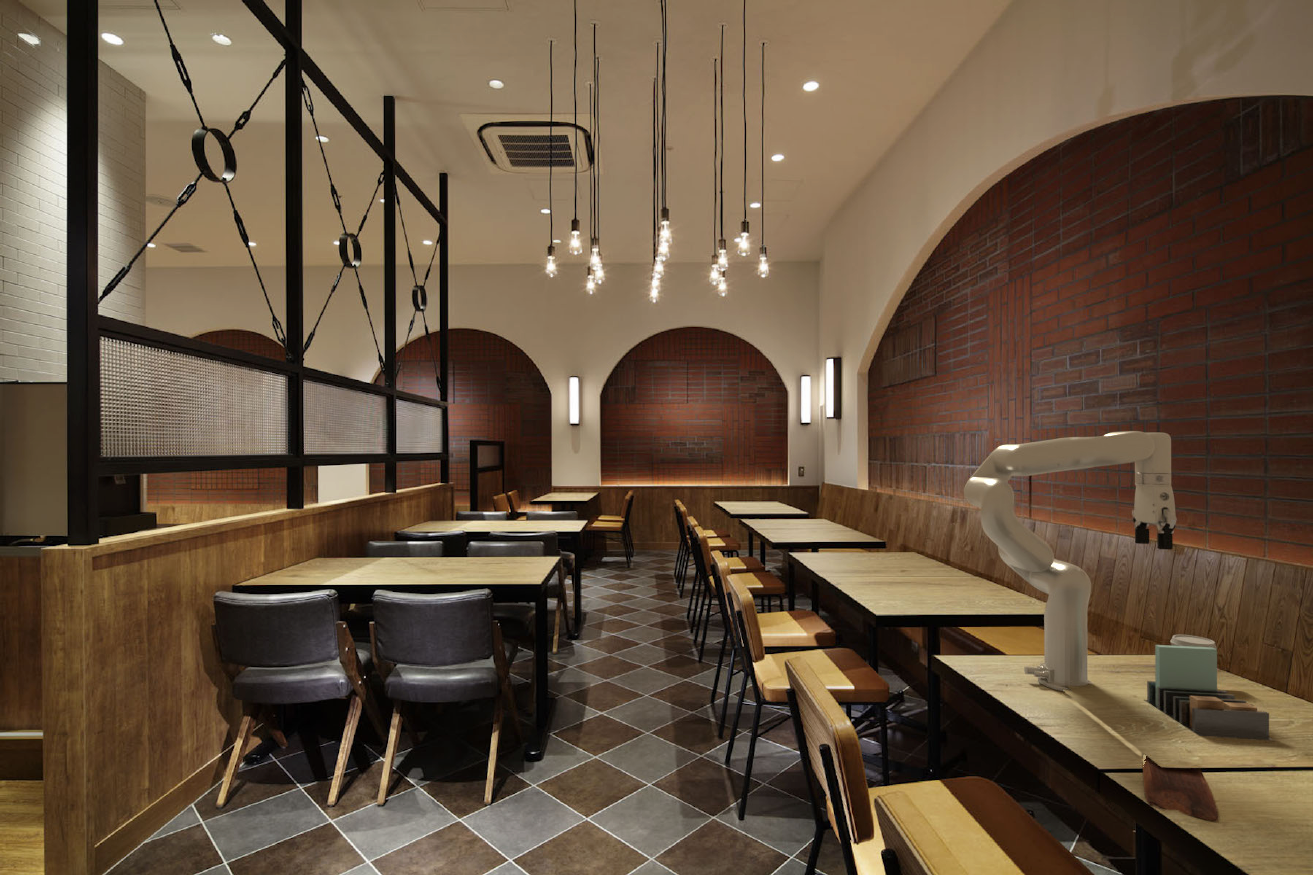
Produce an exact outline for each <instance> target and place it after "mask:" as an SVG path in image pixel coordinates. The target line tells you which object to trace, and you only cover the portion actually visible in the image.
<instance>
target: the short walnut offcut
mask: <svg viewBox="0 0 1313 875" xmlns="http://www.w3.org/2000/svg"><path fill="white" fill-rule="evenodd" d="M1250 704H1251V703H1247V702H1246V703H1231V702H1223V709H1226V710H1244V711H1258V707H1256V706H1255V705H1253V704H1252V705H1253V706H1252V705H1250Z"/></svg>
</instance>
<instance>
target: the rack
mask: <svg viewBox="0 0 1313 875" xmlns="http://www.w3.org/2000/svg"><path fill="white" fill-rule="evenodd" d="M1146 682H1147V683H1146V684H1147V686H1146V687H1147V690H1146V692H1147V699H1143V701H1144V702H1147V703H1148V704H1149V705H1150V706H1152V707H1153V708H1156V709H1157V710H1158V711H1160V712H1161V713H1163V714H1164V715H1166V716H1168V717H1169V718H1171V719H1172V720H1174V721H1175V722H1177V723H1178V724H1180V725H1182V726H1183V727H1185V728H1187V730H1189V731H1191V732H1192V733H1194V734H1195V735H1197V736H1198V737H1207V738H1209V737H1211V738H1223V739H1224V738H1227V739H1241V740H1242V739H1243V740H1258V741H1259V740H1260V741H1275V739H1274V738H1271V737H1270V713H1269V712H1268V711H1259V710H1257V711H1244V710H1226V709H1208V708H1192V727H1191V726H1190V696H1206V697H1216V698H1218V699H1220V700H1222V701H1223V702H1231V703H1247V701H1246V700H1244V699H1236V696H1235V694H1233V693H1228V691H1227V690H1224V689H1223V690H1222V689H1220V690H1219V689H1217V690H1205V689H1186V688H1166V687H1157V691H1158V706H1156V682H1155V681H1153V680H1147V681H1146ZM1249 704H1250V705H1252V706H1254V705H1253V704H1252V703H1249Z"/></svg>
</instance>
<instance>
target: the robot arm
mask: <svg viewBox="0 0 1313 875" xmlns="http://www.w3.org/2000/svg"><path fill="white" fill-rule="evenodd" d="M1131 463H1134V485H1135V491H1134V502H1133V503H1134V506H1133V507H1134V508H1133V509H1132V510H1131V515H1132V521H1133V523H1134V524H1133V527H1134V542H1135V544H1137V545H1138V544H1142V545H1149V544H1150V528H1149V526H1150V525H1153V526H1156V528H1157V530H1158V532H1157V534H1156V535H1157V536H1156V537H1157V541H1156V542H1157V544H1156V547H1157V549H1158V550H1173V545H1174V543H1173V538H1174V537H1173V536H1174V535H1173V534H1174V533H1175V529H1176V524H1177V520H1178V518H1177V516H1176V504H1175V496H1174V491H1173V487H1172V437H1171V436H1170V434H1169V433H1166V432H1144V431H1140V430H1139V431H1138V430H1134V431H1133V430H1130V431H1127V430H1126V431H1112V432H1109V433H1106V434H1104V435H1101V436H1100V435H1099V436H1072V437H1071V436H1070V437H1060V438H1054V439H1047V440H1040V441H1034V442H1033V441H1032V442H1027V443H1025V442H1024V443H1018V444H1002V445H999V446H998V447H996V448H994V449H993V451H992V452H991V453H990V454H989V455H988V456H987V457H986V459H985V460H984V461H983V462H982V463H981V464H980V465H979V467H978V468H977V469H976V471H974V473H973V474H972V475H971V476H970V477H969V479H968V480H967V482H966V484H965V485H964V489H963V495H964V497H965V500H966V502H968V504H970V505H971V506H973V507H974V508H975V507H976V508H979V509H980V510H979V514H980V524H981V528H982V531H983V532H984V533H985V535H986V536H987V537H988V538H989V540H990V541H992V542H993V543H994V544H995V545H996V546H997V551H998V554H999V557H1000V559H1001V560H1002V562H1004V564H1006V565H1007V566H1008V567H1009V568H1011V569H1012V570H1013V571H1014V572H1015V573H1016V574H1017V575H1019V576H1020V577H1021V578H1022V579H1024V581H1026V582H1027V583H1029V585H1031V586H1032V587H1034V588H1035V589H1036V590H1039V591H1040V592H1043V593H1045V594H1047V595H1048V597H1047V600H1046V603H1045V606H1044V607H1045V608H1044V612H1043V613H1044V614H1043V616H1044V617H1043V620H1044V622H1043V623H1044V625H1043V627H1044V628H1043V629H1044V636H1043V637H1044V640H1043V642H1044V646H1043V647H1044V652H1043V653H1044V660H1043V661H1044V662H1040V663H1039V664H1040V665H1037V666H1036V667H1034V666H1024V669H1023V671H1024V674H1025V675H1033V676H1034V677H1035V678H1037V681H1038V683H1039V684H1041V685H1042V686H1044V687H1045V688H1046V687H1047V688H1049V689H1051V690H1056V691H1061V692H1065V691H1072V689H1071V688H1070V687H1084V686H1087V685H1088V684H1093V681H1091V680H1089V679H1088V678H1089V677H1088V672H1089V671H1088V609H1089V601H1090V598H1091V593H1092V582H1091V579H1090V576H1089V575H1088V574H1087V573H1086V571H1085V570H1083V569H1082V568H1081V567H1079V566H1078V565H1075V564H1072V563H1070V562H1067V561H1063V560H1060V559H1056V558H1055V555H1054V550H1053V549H1052V548H1051V546H1050V545H1049V543H1047V542H1046V541H1045V540H1044V539H1042V538H1041V537H1040V536H1039V535H1037V534H1036V533H1034V531H1032V530H1031V529H1030V528H1028V527H1027V526H1026V525H1025V524H1024V523H1023V522H1022V521H1021V520H1019V518H1018V517H1017V516H1016V514H1015V511H1014V510H1015V509H1014V503H1015V492H1014V490H1013V489H1014V488H1012V486H1011V485H1010V484H1009V483H1008V482H1009V481H1010V479H1011V478H1012V476H1013V477H1030V476H1036V475H1043V474H1048V473H1049V474H1050V473H1056V472H1057V473H1058V472H1064V471H1065V472H1066V471H1071V470H1072V471H1073V470H1085V469H1090V468H1096V467H1097V468H1098V467H1105V466H1116V465H1124V464H1131Z"/></svg>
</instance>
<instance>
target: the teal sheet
mask: <svg viewBox="0 0 1313 875" xmlns="http://www.w3.org/2000/svg"><path fill="white" fill-rule="evenodd" d="M1154 646H1155V648H1154V649H1155V650H1154V651H1155V652H1154V654H1155V655H1154V656H1155V657H1154V659H1155V667H1154V668H1155V672H1154V673H1155V682H1156V706H1158V691H1157V687H1166V688H1186V689H1205V690H1218V648H1217V649H1215V648H1212V647H1191V646H1173V645H1169V644H1168V645H1164V644H1163V645H1162V644H1154Z"/></svg>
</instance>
